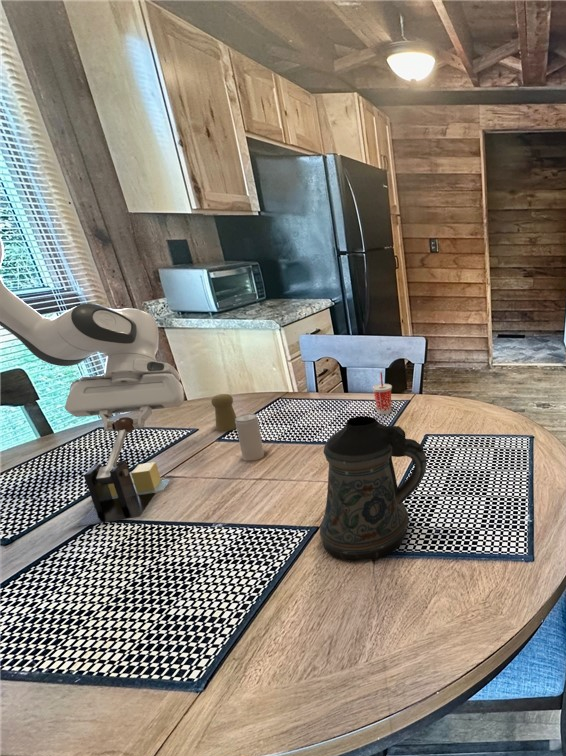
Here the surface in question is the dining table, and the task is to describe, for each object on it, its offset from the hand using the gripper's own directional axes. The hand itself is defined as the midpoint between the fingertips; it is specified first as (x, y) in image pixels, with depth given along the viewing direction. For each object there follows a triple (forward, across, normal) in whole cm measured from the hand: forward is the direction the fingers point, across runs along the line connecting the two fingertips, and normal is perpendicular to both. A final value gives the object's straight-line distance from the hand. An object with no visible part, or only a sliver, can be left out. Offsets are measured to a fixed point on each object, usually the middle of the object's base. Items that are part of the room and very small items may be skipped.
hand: (124, 428), depth 92 cm
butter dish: (+13, 0, +8) cm, 15 cm away
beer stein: (+35, +49, -14) cm, 62 cm away
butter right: (+12, +3, +7) cm, 14 cm away
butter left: (+12, -3, +7) cm, 14 cm away
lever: (+6, 0, 0) cm, 6 cm away
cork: (-9, +12, +30) cm, 33 cm away
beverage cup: (-8, +57, +30) cm, 65 cm away
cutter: (+18, 0, +2) cm, 18 cm away
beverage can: (+7, +22, +14) cm, 27 cm away
